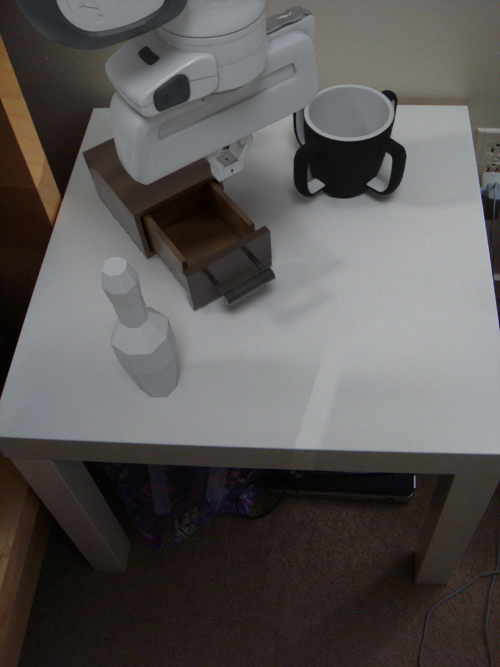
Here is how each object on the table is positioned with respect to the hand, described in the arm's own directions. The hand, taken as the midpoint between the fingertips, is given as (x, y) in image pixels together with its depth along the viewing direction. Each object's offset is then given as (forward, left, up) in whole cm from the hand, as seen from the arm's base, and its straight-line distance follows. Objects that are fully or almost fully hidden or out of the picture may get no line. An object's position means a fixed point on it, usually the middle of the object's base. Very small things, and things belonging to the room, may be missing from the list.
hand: (228, 172), depth 60 cm
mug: (+25, +10, -23) cm, 35 cm away
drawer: (0, +7, -21) cm, 23 cm away
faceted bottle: (-15, -4, -23) cm, 27 cm away
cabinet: (0, +22, -22) cm, 32 cm away
